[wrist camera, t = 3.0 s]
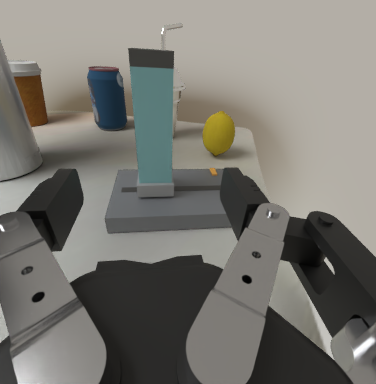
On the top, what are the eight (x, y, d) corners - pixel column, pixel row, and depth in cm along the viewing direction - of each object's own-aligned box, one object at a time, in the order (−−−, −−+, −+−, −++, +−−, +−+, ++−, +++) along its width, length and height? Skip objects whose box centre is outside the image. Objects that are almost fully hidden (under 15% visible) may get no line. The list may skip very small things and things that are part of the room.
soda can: (133, 125, 52) (128, 68, 45) (115, 133, 46) (107, 70, 40) (109, 121, 54) (100, 65, 47) (89, 128, 48) (77, 67, 41)
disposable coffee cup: (65, 121, 52) (50, 63, 45) (27, 132, 44) (2, 64, 37) (36, 115, 54) (17, 59, 48) (-5, 124, 47) (-33, 60, 40)
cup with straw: (138, 132, 48) (130, 17, 37) (174, 128, 52) (177, 23, 41) (152, 146, 42) (147, 13, 31) (192, 140, 46) (201, 21, 35)
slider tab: (137, 197, 24) (124, 48, 16) (139, 178, 27) (129, 47, 19) (173, 196, 24) (177, 51, 17) (171, 178, 27) (173, 50, 20)
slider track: (107, 233, 22) (104, 216, 21) (120, 182, 30) (118, 168, 29) (246, 226, 24) (250, 211, 23) (223, 180, 32) (225, 167, 31)
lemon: (206, 147, 43) (211, 105, 38) (233, 153, 41) (241, 110, 37) (196, 157, 39) (200, 111, 34) (226, 164, 37) (234, 117, 32)
